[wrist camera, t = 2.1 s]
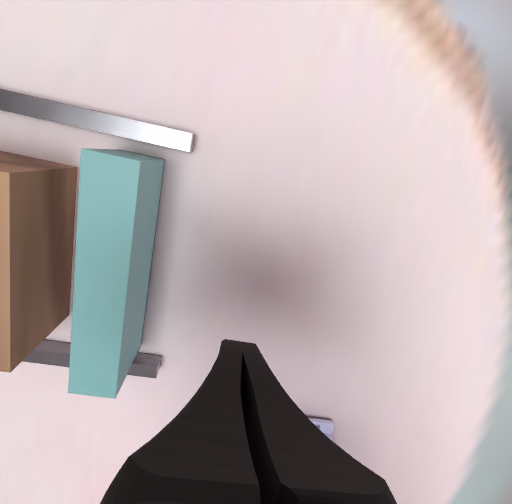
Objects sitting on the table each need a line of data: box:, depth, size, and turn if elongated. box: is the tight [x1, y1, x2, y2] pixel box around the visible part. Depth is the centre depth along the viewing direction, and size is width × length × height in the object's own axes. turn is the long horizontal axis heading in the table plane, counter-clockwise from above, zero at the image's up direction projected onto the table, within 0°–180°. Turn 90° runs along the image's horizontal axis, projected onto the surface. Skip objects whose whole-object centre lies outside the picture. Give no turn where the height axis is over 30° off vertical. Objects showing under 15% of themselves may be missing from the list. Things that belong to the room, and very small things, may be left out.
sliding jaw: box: [68, 148, 165, 398], centre depth 18 cm, size 3×13×5 cm, turn 168°
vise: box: [0, 89, 195, 378], centre depth 17 cm, size 16×16×6 cm
